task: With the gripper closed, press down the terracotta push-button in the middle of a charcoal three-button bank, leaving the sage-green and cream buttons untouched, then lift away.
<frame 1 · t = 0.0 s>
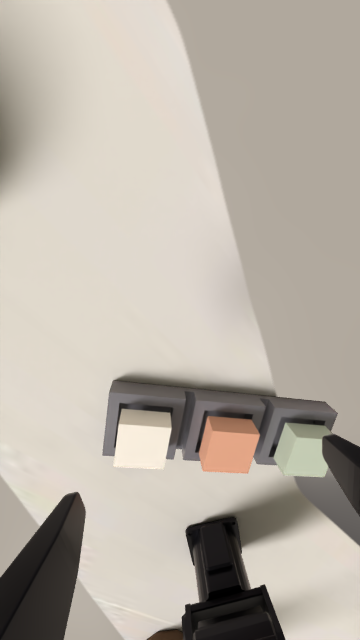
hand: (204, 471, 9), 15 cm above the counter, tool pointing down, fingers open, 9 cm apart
cream button: (142, 438, 21), point 3 cm above the counter, slide at 0.0 cm
sage button: (304, 449, 24), point 3 cm above the counter, slide at 0.0 cm
terracotta button: (227, 444, 23), point 3 cm above the counter, slide at 0.0 cm
button bank: (218, 420, 26), on the counter
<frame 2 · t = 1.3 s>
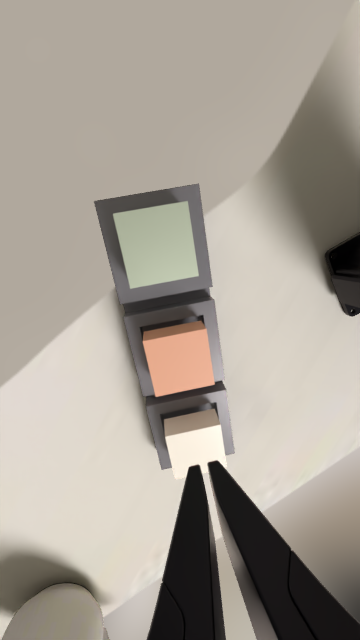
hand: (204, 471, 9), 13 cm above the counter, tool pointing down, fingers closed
cream button: (195, 443, 20), point 3 cm above the counter, slide at 0.0 cm
sage button: (157, 246, 16), point 3 cm above the counter, slide at 0.0 cm
teacup: (77, 600, 29), on the counter
terracotta button: (178, 357, 18), point 3 cm above the counter, slide at 0.0 cm
button bank: (175, 341, 21), on the counter
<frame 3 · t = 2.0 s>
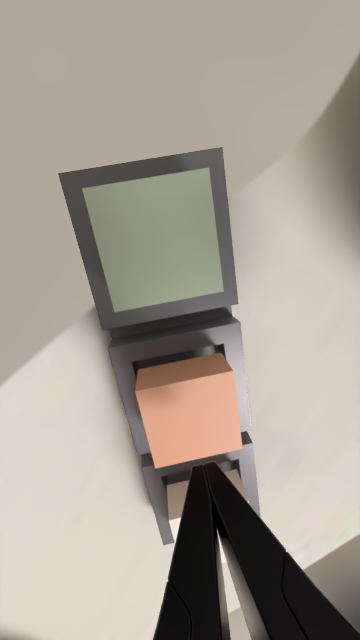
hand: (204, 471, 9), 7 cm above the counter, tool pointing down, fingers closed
cream button: (210, 519, 14), point 3 cm above the counter, slide at 0.0 cm
sage button: (158, 244, 10), point 3 cm above the counter, slide at 0.0 cm
terracotta button: (189, 408, 12), point 3 cm above the counter, slide at 0.0 cm
button bank: (182, 375, 15), on the counter
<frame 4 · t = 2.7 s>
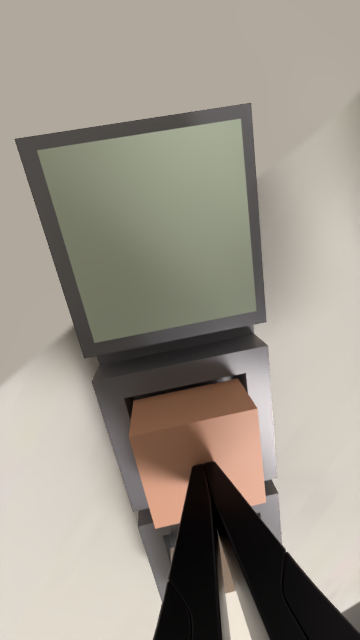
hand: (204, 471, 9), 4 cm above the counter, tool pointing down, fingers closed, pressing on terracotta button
cream button: (225, 593, 11), point 3 cm above the counter, slide at 0.0 cm
sage button: (160, 242, 7), point 3 cm above the counter, slide at 0.0 cm
terracotta button: (198, 450, 10), point 3 cm above the counter, slide at 0.6 cm, touching gripper
button bank: (188, 406, 12), on the counter
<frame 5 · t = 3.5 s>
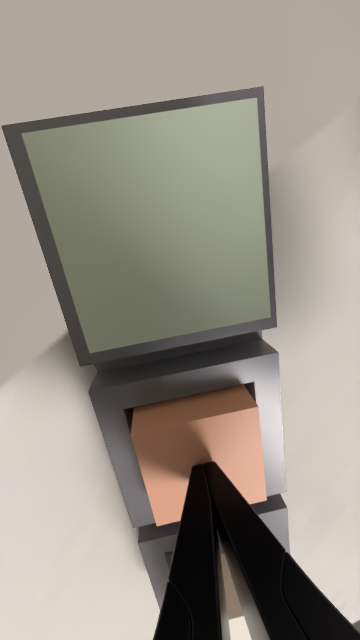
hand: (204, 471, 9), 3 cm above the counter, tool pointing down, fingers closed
cream button: (231, 614, 11), point 3 cm above the counter, slide at 0.0 cm
sage button: (162, 240, 6), point 3 cm above the counter, slide at 0.0 cm
terracotta button: (199, 448, 10), point 2 cm above the counter, slide at 1.4 cm
button bank: (192, 415, 12), on the counter
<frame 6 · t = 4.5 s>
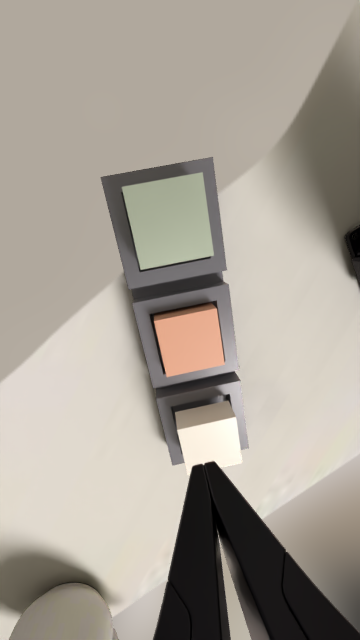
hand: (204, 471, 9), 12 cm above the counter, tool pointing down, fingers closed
cream button: (208, 437, 19), point 3 cm above the counter, slide at 0.0 cm
sage button: (169, 224, 14), point 3 cm above the counter, slide at 0.0 cm
teacup: (85, 600, 29), on the counter
terracotta button: (189, 338, 18), point 2 cm above the counter, slide at 1.4 cm
button bank: (185, 330, 20), on the counter
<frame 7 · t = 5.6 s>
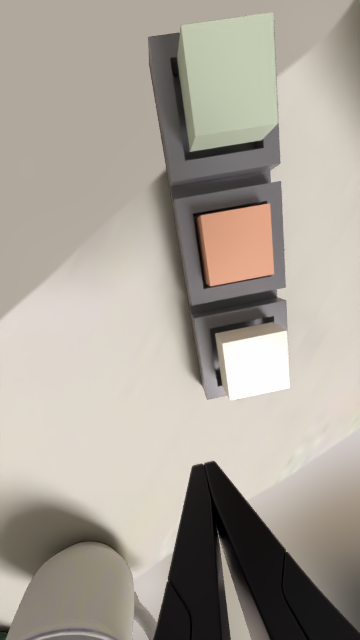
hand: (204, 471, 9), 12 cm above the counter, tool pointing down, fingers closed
cream button: (251, 360, 17), point 3 cm above the counter, slide at 0.0 cm
sage button: (226, 90, 13), point 3 cm above the counter, slide at 0.0 cm
teacup: (101, 562, 27), on the counter
terracotta button: (234, 246, 16), point 2 cm above the counter, slide at 1.4 cm
button bank: (225, 246, 18), on the counter
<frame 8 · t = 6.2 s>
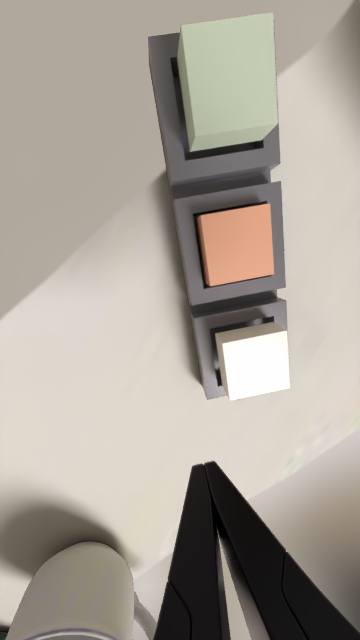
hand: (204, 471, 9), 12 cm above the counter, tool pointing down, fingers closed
cream button: (251, 360, 17), point 3 cm above the counter, slide at 0.0 cm
sage button: (226, 90, 13), point 3 cm above the counter, slide at 0.0 cm
teacup: (101, 562, 27), on the counter
terracotta button: (234, 246, 16), point 2 cm above the counter, slide at 1.4 cm
button bank: (225, 246, 18), on the counter
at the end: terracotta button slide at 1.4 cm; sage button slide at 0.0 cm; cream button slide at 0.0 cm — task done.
